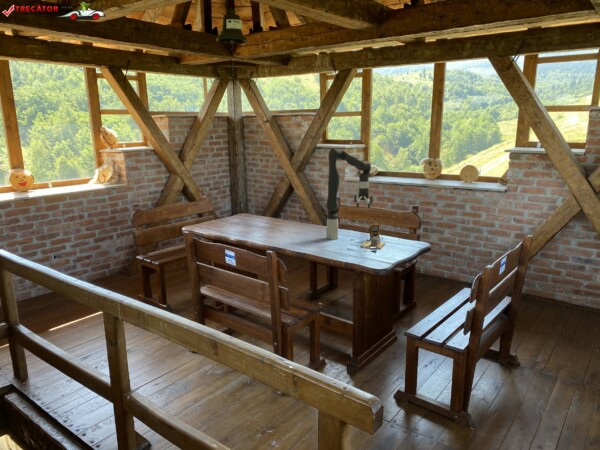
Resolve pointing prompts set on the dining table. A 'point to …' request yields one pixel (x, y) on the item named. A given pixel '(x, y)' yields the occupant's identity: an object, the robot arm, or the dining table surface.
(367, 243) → the board
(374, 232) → the multimeter
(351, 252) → the dining table surface
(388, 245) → the dining table surface
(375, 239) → the block
